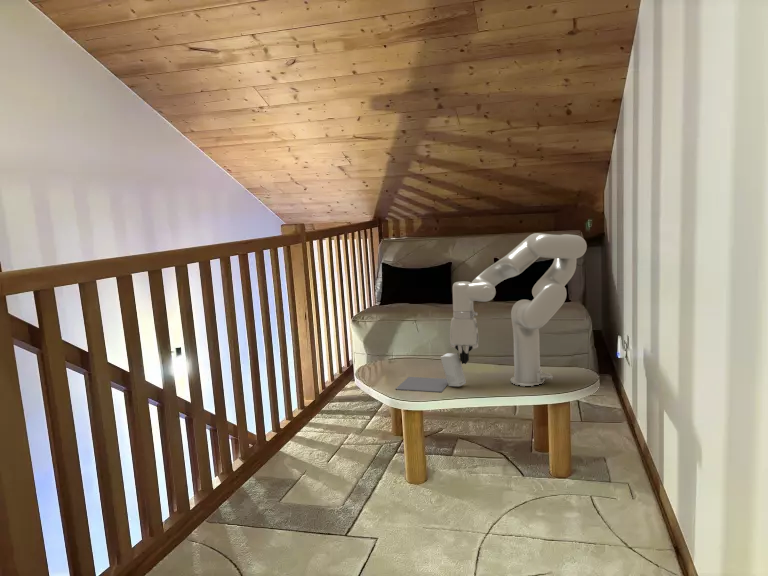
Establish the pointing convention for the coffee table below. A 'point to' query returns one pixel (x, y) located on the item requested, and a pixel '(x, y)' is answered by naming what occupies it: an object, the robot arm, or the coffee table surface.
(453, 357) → the skincare box
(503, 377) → the coffee table surface
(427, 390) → the mat
